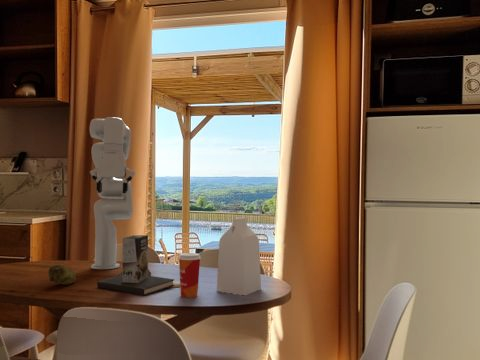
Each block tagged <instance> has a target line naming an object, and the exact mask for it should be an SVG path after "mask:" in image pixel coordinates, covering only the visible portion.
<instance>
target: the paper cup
mask: <svg viewBox="0 0 480 360" xmlns="http://www.w3.org/2000/svg"><path fill="white" fill-rule="evenodd" d="M177 259H178V261H179V262H178V263H179V282H180V287H179V289H180V290H179V291H180V297H181V296H182V298H185V297H186V299H187V298H188V299H190V298H189V297H192V298H195V297H198V292H199V278H200V262H201V259H202V257H201V255H200V253H197V252H196V253H195V252H185V253H179V256H178V258H177Z"/></svg>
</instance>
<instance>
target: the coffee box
mask: <svg viewBox="0 0 480 360" xmlns="http://www.w3.org/2000/svg"><path fill="white" fill-rule="evenodd" d="M148 269H149V235H146V234H145V235H144V234H141V235H140V234H139V235H129V236H126V237H122V272H123V282H126V283H139V282H141V281H143V280H145V279H147V278H148Z"/></svg>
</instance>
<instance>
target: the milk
mask: <svg viewBox="0 0 480 360" xmlns="http://www.w3.org/2000/svg"><path fill="white" fill-rule="evenodd" d="M232 220H233V221H232V224H231V227H229V229H227V230H226V231H225V233H223V234H222V235H221V237H220V238H219V241H218V242H219V243H218V259H217V273H216V275H217V277H216V292H217V291H222V292H221V293H224V292H227V293H226V294H230V293H233V294H232V295H236V294H239V295H238V296H242V295H245V296H247V295H249V293H250V294H252V292H253V293H255V292H258V291H260V290H261V289H262V277H261V275H262V274H261V255H260V254H261V253H260V239H259V236H258V235H257V234H256V233H255V232H254V231H253V230H252V229H251V228H250V226H248V224H247V218H246V217H235V218H233V219H232ZM257 290H258V291H257Z"/></svg>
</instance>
